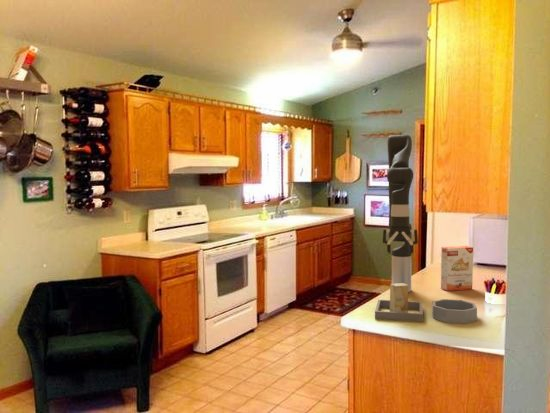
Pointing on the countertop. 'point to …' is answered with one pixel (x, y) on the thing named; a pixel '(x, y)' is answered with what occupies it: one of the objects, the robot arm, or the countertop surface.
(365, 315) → the countertop surface
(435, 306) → the ceramic bowl
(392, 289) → the skincare box
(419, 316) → the parts tray
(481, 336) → the countertop surface
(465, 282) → the cracker box
